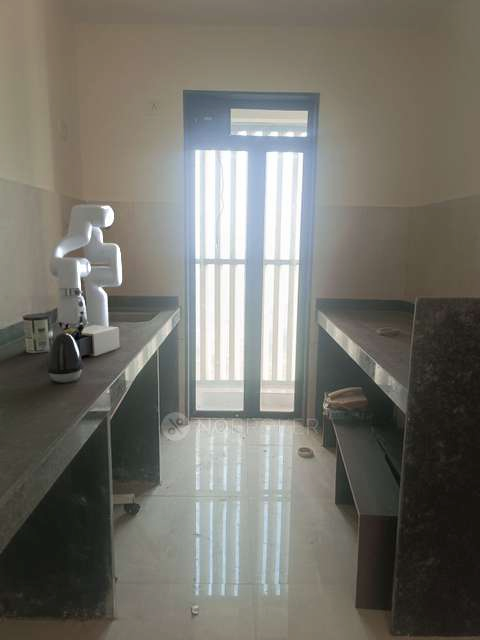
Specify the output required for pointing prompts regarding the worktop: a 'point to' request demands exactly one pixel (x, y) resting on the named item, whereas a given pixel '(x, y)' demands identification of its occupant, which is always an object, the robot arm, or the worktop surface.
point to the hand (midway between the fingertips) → (73, 340)
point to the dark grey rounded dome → (64, 359)
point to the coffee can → (38, 332)
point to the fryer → (102, 338)
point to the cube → (69, 331)
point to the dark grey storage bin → (81, 345)
